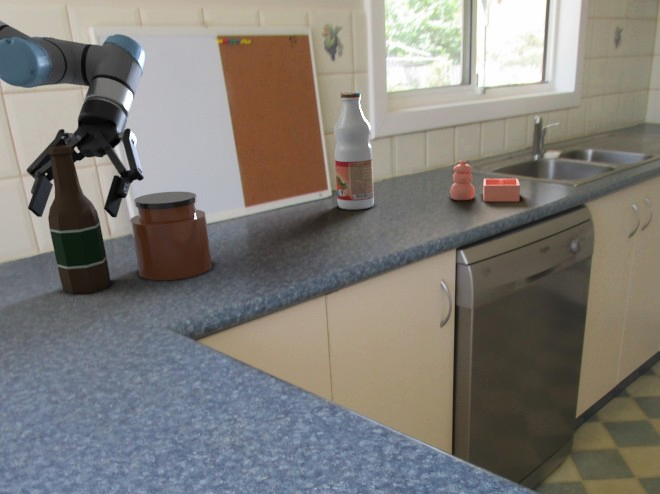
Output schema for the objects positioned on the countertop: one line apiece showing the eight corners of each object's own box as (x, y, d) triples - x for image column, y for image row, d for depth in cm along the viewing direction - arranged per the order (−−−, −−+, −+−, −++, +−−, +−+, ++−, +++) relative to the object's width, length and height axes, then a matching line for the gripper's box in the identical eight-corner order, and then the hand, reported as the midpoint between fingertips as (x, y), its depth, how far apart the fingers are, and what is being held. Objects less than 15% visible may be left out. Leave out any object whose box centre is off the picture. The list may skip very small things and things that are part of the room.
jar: (138, 264, 127) (126, 194, 122) (207, 255, 131) (199, 187, 127) (139, 284, 116) (126, 208, 111) (216, 274, 120) (206, 200, 115)
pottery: (517, 194, 181) (518, 157, 177) (519, 201, 172) (520, 163, 168) (450, 194, 182) (450, 158, 179) (449, 201, 174) (449, 163, 170)
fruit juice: (369, 210, 166) (364, 93, 156) (333, 209, 167) (326, 94, 158) (378, 202, 174) (373, 91, 164) (343, 202, 176) (337, 91, 166)
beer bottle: (116, 288, 114) (90, 146, 105) (66, 297, 110) (35, 150, 101) (106, 276, 120) (80, 141, 112) (59, 285, 116) (29, 146, 107)
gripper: (180, 124, 120) (152, 225, 112) (54, 126, 124) (18, 223, 115) (161, 95, 114) (131, 200, 105) (29, 98, 117) (-11, 200, 108)
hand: (72, 213), depth 110 cm, fingers open, 13 cm apart
